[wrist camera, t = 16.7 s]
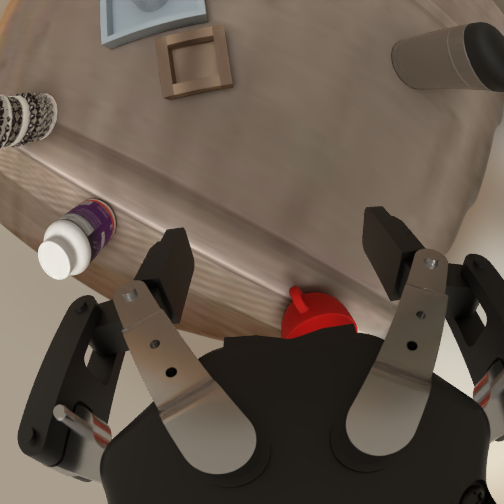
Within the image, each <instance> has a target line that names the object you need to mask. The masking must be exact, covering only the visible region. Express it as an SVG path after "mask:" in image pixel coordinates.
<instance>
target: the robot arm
mask: <svg viewBox="0 0 504 504" xmlns="http://www.w3.org/2000/svg"><path fill="white" fill-rule="evenodd" d="M392 62H393V66H394V68H395V71H396V72H397V74H398V76H399V77H400V78H401V79H402V81H404V82H405V83H406V84H407V85H409V86H410V87H412V88H415V89H470V90H486V91H496V92H504V36H503V35H502V34H501V33H500V32H499V31H498V30H497V29H496V28H495V27H493V26H492V25H490V24H488V23H484V22H477V23H471V24H465V25H460V26H455V27H451V28H446V29H442V30H438V31H434V32H430V33H426V34H423V35H419V36H416V37H412V38H409V39H406V40H403V41H399V42H398V43H396V45H395V46H394V48H393V50H392ZM362 242H363V248H364V251H365V253H366V255H367V257H368V259H369V260H370V262H371V264H372V266H373V268H374V270H375V272H376V273H377V275H378V277H379V279H380V281H381V283H382V285H383V287H384V289H385V291H386V293H387V295H388V297H389V299H390V301H395V300H400V302H399V305H398V307H397V310H396V313H395V315H394V318H393V321H392V323H391V326H390V328H389V331H388V333H387V335H386V338H385V340H383V339H381V338H379V337H376V336H373V335H369V334H364V333H357V332H356V329H355V326H354V323H353V324H346V325H340V326H333V327H326V328H322V329H319V330H316V331H313V332H310V333H307V334H304V335H301V336H298V337H295V338H292V339H284V338H275V337H266V336H258V335H254V336H240V337H224V347H222V348H219V349H216V350H213V351H211V352H209V353H207V354H205V355H204V356H202V357H200V358H199V359H197V358H196V356H195V355H194V354H193V352H192V351H191V349H190V348H189V347H188V345H187V344H186V342H185V341H184V340H183V338H182V337H181V335H180V334H179V332H178V331H177V330H176V328H175V327H174V325H173V324H177V323H180V320H181V316H182V312H183V308H184V305H185V301H186V297H187V293H188V290H189V286H190V282H191V279H192V275H193V272H194V258H193V254H192V251H191V248H190V244H189V241H188V238H187V234H186V231H185V229H184V228H183V227H182V228H175V229H168V230H166V232H165V234H164V236H163V238H162V239H161V241H160V242H157V243H156V244H155V245H154V246H152V247H151V248H150V250H149V252H148V253H147V255H146V257H145V259H144V261H143V263H142V265H141V267H140V269H139V271H138V273H137V275H136V276H135V278H134V280H133V281H130V282H127V283H125V284H123V285H122V286H120V287H119V288H118V289H117V290H116V292H115V293H114V296H113V300H110V301H107V302H103V303H100V304H98V303H97V301H96V300H95V298H94V297H93V296H90V295H86V296H82V297H80V298H78V299H77V300H75V301H74V302H73V303H72V304H71V305H70V307H69V308H68V310H67V312H66V314H65V316H64V318H63V320H62V322H61V324H60V326H59V328H58V330H57V332H56V334H55V336H54V338H53V340H52V342H51V344H50V347H49V349H48V351H47V353H46V355H45V358H44V360H43V362H42V365H41V367H40V369H39V372H38V374H37V377H36V379H35V382H34V385H33V387H32V390H31V393H30V395H29V398H28V401H27V404H26V407H25V410H24V414H23V416H22V420H21V423H20V427H19V430H18V444H19V447H20V448H21V450H22V452H23V453H24V454H26V455H28V456H29V457H32V458H33V459H35V460H37V461H39V462H41V463H42V464H43V465H45V466H47V467H49V468H51V469H53V470H55V471H57V472H59V473H62V474H64V475H66V476H70V477H73V478H76V479H79V480H81V481H84V482H90V481H95V482H99V483H102V484H103V487H104V490H105V493H106V497H107V501H108V504H496V502H495V501H494V499H493V498H492V496H491V494H490V492H489V490H488V488H487V484H486V464H487V456H488V450H489V444H490V443H491V442H492V441H494V440H495V441H503V440H504V280H503V278H502V277H501V276H500V274H499V273H498V272H497V270H496V269H495V268H494V267H493V265H492V264H491V263H490V262H489V261H488V260H487V259H486V258H484V257H483V256H481V255H477V254H469V255H467V256H466V257H465V260H464V263H463V265H460V264H450V263H448V261H447V259H446V257H445V256H444V255H443V254H441V253H440V252H438V251H436V250H433V249H425V247H424V246H423V245H422V244H421V243H420V241H419V240H418V239H417V238H416V237H415V235H414V234H412V232H411V231H410V229H408V227H407V226H406V225H405V224H404V223H403V221H401V220H399V219H398V218H396V217H394V216H391V215H390V214H389V213H388V212H387V211H386V210H385V209H384V207H382V206H377V207H366V209H365V212H364V226H363V237H362ZM479 303H480V304H481V306H482V308H483V309H484V311H485V313H486V316H487V324H486V326H484V324H483V323H482V321H481V319H480V317H479V315H478V314H477V312H476V309H477V307H478V305H479ZM445 318H446V320H447V322H448V324H449V326H450V328H451V330H452V333H453V335H454V337H455V339H456V341H457V343H458V346H459V348H460V350H461V353H462V355H463V357H464V360H465V362H466V365H467V368H468V370H469V373H470V375H471V378H472V381H473V384H474V386H475V388H474V391H473V399H472V398H470V397H469V396H467V395H466V394H464V393H463V392H461V391H460V390H459V389H457V388H456V387H454V386H453V385H451V384H450V383H448V382H447V381H445V380H444V379H442V378H441V377H439V376H438V375H436V374H435V373H433V370H434V366H435V362H436V358H437V354H438V350H439V346H440V341H441V337H442V332H443V326H444V321H445ZM88 345H90V346H91V347H92V349H93V351H92V354H91V357H90V360H89V363H88V365H87V367H86V365H85V362H84V356H85V353H86V350H87V347H88ZM128 350H130V353H131V355H132V357H133V359H134V361H135V364H136V366H137V368H138V370H139V372H140V374H141V376H142V379H143V381H144V383H145V385H146V387H147V389H148V391H149V393H150V394H151V396H152V398H153V400H154V401H153V402H152V403H151V404H150V405H149V406H148V407H147V408H146V409H145V410H144V411H143V412H142V413H141V414H140V415H138V416H137V417H136V418H135V419H134V420H133V421H132V422H131V423H130V424H129V425H128V426H127V427H126V428H124V429H123V430H122V431H121V432H120V433H119V434H118V435H117V436H116V437H114V438H113V439H112V435H111V430H110V428H109V426H108V425H107V424H108V419H109V414H110V410H111V405H112V401H113V396H114V393H115V389H116V384H117V380H118V377H119V373H120V369H121V365H122V362H123V358H124V355H125V351H128Z"/></svg>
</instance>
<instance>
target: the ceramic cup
mask: <svg viewBox="0 0 504 504" xmlns="http://www.w3.org/2000/svg"><path fill="white" fill-rule="evenodd" d="M289 292H290V296H291V298H292V300H293V302H292V303H291V304H290V305H289V307H288V308H287V310H286V312H285V314H284V317H283V320H282V326H281V338H284V339H292V338H295V337H298V336H301V335H304V334H307V333H310V332H313V331H316V330H319V329H322V328H326V327H333V326H340V325H346V324H353V323H354V326H355V329H356V332H357V326H356V323H355V321H354V320H353V318H352V316H351V315H350V313H349V312H348V310H347V309H346V308H345V307H344V305H343V304H341V303H340V302H339V301H338V300H337V299H336V298H334V297H332V296H330V295H328V294H324V293H319V292H312V293H306V294H303V293H302V292H301V290H300V289H299V288H298V287H297V286H294V287H292V288H290V290H289Z"/></svg>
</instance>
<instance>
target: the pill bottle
mask: <svg viewBox="0 0 504 504" xmlns="http://www.w3.org/2000/svg"><path fill="white" fill-rule="evenodd" d="M115 228H116V221H115V216H114V214H113V212H112V210H111V209H110V207H109V206H108V205H107V204H106V203H104V202H102V201H100V200H98V199H89V200H86V201H84V202H82V203H81V204H79V205H78V206H76V207H75V208H74V209H72V210H71V211H69V212H68V213H66V214H65V215H64V216H62V217H61V218H59V219H58V220H57V221H55V222H54V223H53V224H51V225H50V226H49V227H48V229H47V231H46V233H45V236H44V242H43V243H42V244H41V245H40V247H39V250H38V258H39V262H40V264H41V266H42V268H43V269H44V270H45V272H46V273H47V274H48V275H49V276H51V277H52V278H55V279H59V280H60V279H64V278H66V277H67V276H68V275H77V274H79V273H81V272H83V271H84V270H85V269H86V268H87V267H88V265H89V264H90V263H91V262H92V260H93V259H94V258H95V257H96V256H97V254H98V253H99V252H100V251H101V250H102V248H103V247H104V246H105V245H106V244H107V243H108V242H109V240H110V239H111V238H112V237H113V235H114V232H115Z"/></svg>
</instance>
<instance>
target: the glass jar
mask: <svg viewBox="0 0 504 504" xmlns="http://www.w3.org/2000/svg"><path fill="white" fill-rule="evenodd" d="M167 1H168V0H132V2H133V3H134V4H135V5H136V6H137V7H138V8H139V9H140V10H141V11H144V12H152V11H156V10H158V9H160V8H161V7H163V6H164V5H165V4H166V2H167Z"/></svg>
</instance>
